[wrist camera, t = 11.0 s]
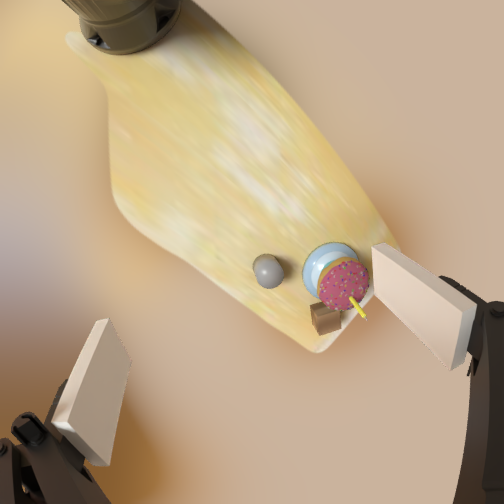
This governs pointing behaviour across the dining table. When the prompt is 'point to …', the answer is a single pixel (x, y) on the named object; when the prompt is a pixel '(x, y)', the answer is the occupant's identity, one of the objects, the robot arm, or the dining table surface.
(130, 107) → the dining table surface
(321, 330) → the walnut block
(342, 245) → the saucer
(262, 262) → the grey cylinder
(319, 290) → the cupcake
